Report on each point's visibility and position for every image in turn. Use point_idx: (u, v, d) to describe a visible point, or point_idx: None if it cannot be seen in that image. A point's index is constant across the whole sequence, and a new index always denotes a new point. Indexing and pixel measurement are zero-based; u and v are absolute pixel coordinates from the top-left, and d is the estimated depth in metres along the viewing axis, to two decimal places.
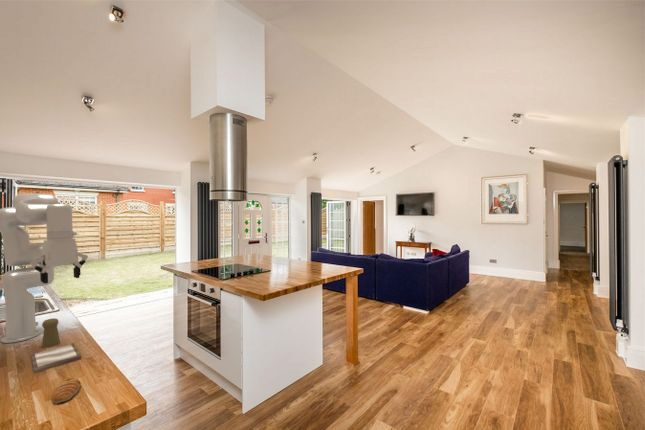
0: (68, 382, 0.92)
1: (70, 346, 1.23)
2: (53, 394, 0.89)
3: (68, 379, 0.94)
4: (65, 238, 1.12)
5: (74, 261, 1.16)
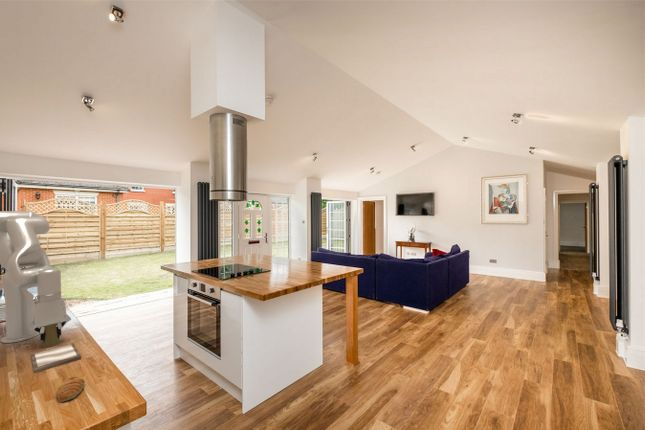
0: (72, 381, 0.93)
1: (70, 346, 1.23)
2: (58, 393, 0.89)
3: (72, 378, 0.95)
4: None
5: None
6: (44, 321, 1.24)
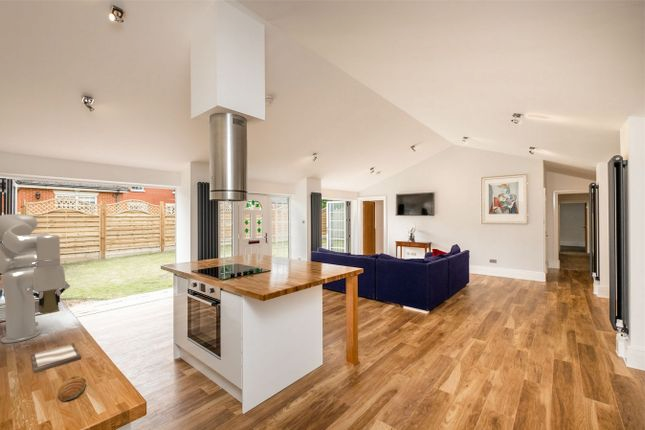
0: (74, 380, 0.93)
1: (70, 346, 1.23)
2: (60, 392, 0.90)
3: (73, 377, 0.95)
4: None
5: None
6: (43, 286, 1.24)
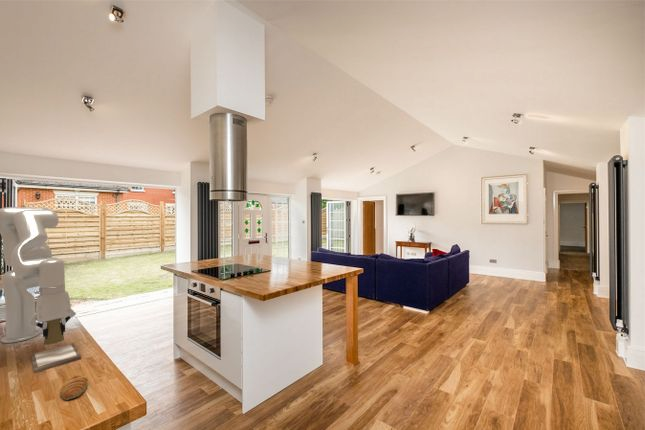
0: (76, 379, 0.94)
1: (70, 346, 1.23)
2: (62, 391, 0.90)
3: (75, 377, 0.95)
4: None
5: None
6: (47, 316, 1.15)
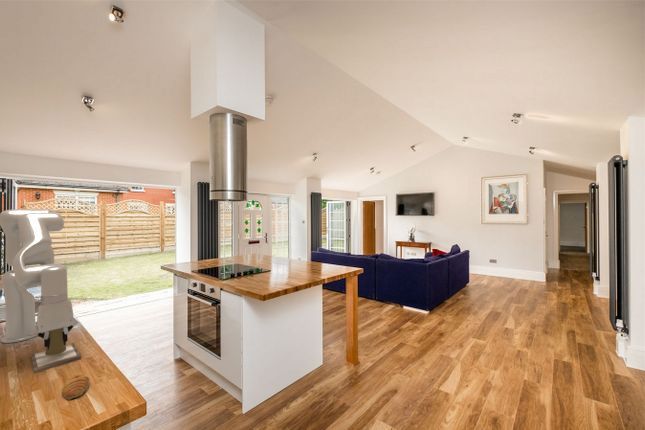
0: (78, 379, 0.94)
1: (70, 346, 1.23)
2: (64, 391, 0.90)
3: (76, 376, 0.96)
4: None
5: None
6: (49, 325, 1.10)
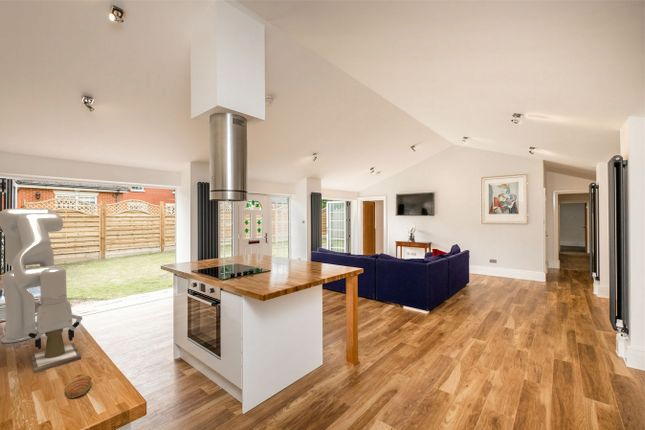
0: (80, 378, 0.95)
1: (70, 346, 1.23)
2: (67, 390, 0.91)
3: (79, 375, 0.96)
4: None
5: None
6: (48, 326, 1.12)
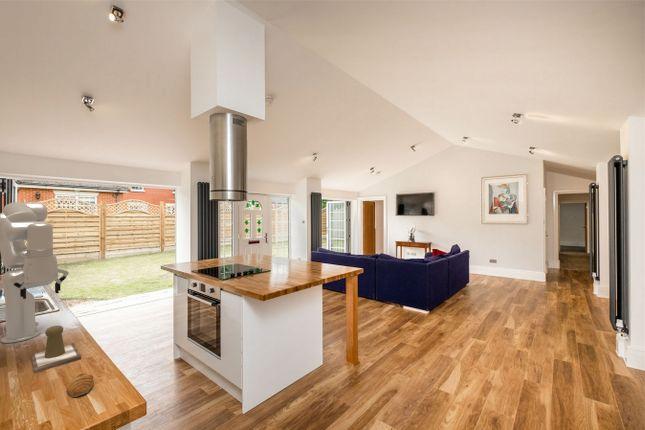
0: (82, 377, 0.95)
1: (70, 346, 1.23)
2: (70, 389, 0.91)
3: (81, 375, 0.97)
4: None
5: None
6: (34, 278, 1.16)
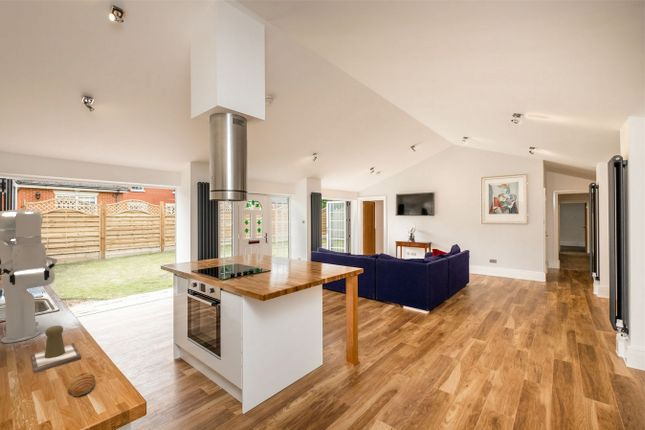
0: (84, 376, 0.95)
1: (70, 346, 1.23)
2: (72, 388, 0.92)
3: (82, 374, 0.97)
4: None
5: None
6: (22, 264, 1.19)
